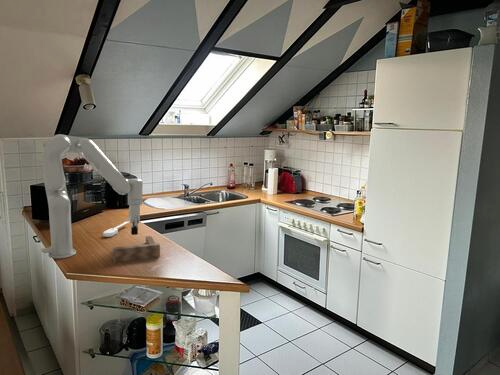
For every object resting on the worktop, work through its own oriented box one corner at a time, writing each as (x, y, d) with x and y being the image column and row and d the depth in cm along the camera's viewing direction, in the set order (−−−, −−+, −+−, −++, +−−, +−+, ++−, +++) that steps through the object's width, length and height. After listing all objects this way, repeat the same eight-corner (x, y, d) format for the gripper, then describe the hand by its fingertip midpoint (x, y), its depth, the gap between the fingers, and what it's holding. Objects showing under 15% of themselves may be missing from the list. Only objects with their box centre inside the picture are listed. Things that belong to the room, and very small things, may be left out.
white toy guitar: (124, 225, 250) (124, 221, 250) (132, 225, 249) (132, 221, 249) (100, 237, 223) (100, 232, 223) (110, 238, 222) (109, 233, 222)
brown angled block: (113, 262, 185) (113, 249, 184) (109, 246, 209) (109, 234, 208) (159, 257, 194) (159, 244, 193) (151, 241, 218) (151, 230, 216)
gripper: (126, 199, 214) (125, 231, 217) (129, 204, 200) (128, 238, 203) (140, 198, 217) (139, 230, 220) (144, 204, 203) (143, 237, 206)
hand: (134, 234), depth 211 cm, fingers closed
